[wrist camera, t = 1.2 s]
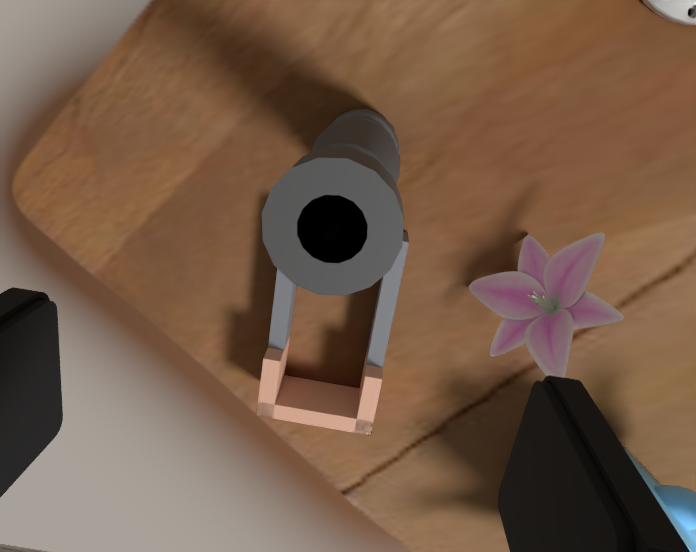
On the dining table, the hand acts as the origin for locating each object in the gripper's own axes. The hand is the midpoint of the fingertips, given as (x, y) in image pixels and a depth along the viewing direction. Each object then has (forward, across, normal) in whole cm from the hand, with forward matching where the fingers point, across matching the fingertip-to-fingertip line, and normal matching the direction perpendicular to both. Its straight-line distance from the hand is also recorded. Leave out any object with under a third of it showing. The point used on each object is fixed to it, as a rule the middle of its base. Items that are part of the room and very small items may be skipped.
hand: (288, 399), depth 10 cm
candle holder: (+37, 0, 0) cm, 37 cm away
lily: (+37, -17, +9) cm, 41 cm away
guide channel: (+36, 0, +15) cm, 39 cm away
